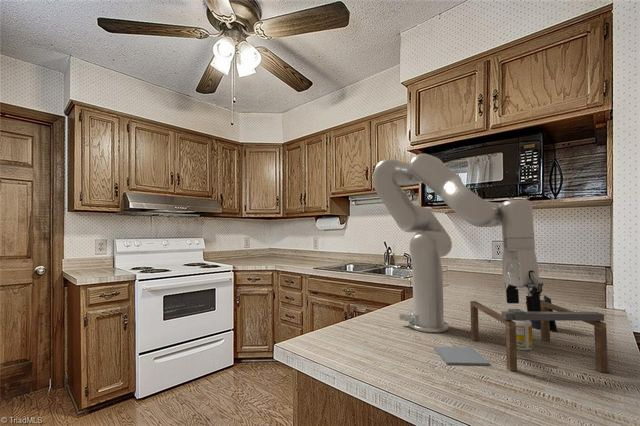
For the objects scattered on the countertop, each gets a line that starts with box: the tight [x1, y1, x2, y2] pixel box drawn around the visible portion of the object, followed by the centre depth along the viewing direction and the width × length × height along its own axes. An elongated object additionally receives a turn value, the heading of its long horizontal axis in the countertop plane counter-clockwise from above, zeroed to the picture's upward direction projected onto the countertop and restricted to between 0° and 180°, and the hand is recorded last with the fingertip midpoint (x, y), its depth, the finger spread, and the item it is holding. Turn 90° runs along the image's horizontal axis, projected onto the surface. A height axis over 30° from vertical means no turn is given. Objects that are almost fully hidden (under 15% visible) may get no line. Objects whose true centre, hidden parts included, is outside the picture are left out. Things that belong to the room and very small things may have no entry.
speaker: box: [525, 295, 558, 333], centre depth 104 cm, size 8×6×10 cm
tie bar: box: [500, 308, 605, 322], centre depth 75 cm, size 22×3×2 cm, turn 87°
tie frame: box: [469, 300, 609, 374], centre depth 83 cm, size 22×21×11 cm
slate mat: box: [433, 346, 491, 366], centre depth 82 cm, size 10×10×1 cm
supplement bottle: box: [512, 309, 533, 351], centre depth 88 cm, size 5×5×10 cm
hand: (522, 307), depth 88 cm, fingers open, 9 cm apart
